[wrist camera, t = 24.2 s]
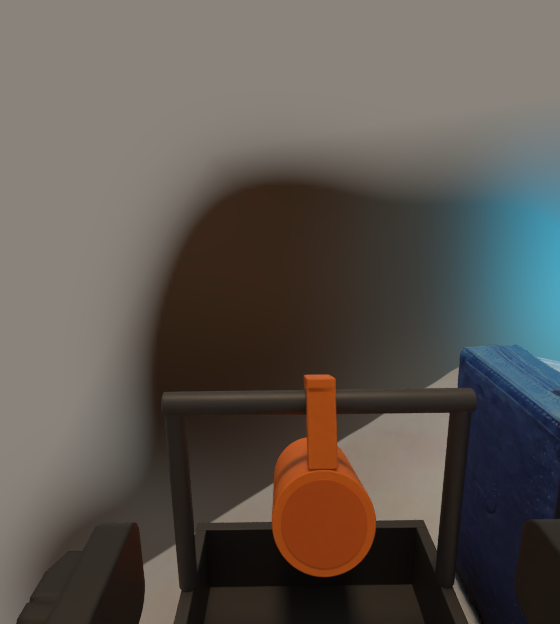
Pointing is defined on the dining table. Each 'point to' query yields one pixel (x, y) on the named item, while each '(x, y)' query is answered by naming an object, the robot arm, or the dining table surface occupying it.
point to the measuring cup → (320, 494)
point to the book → (506, 470)
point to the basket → (276, 569)
